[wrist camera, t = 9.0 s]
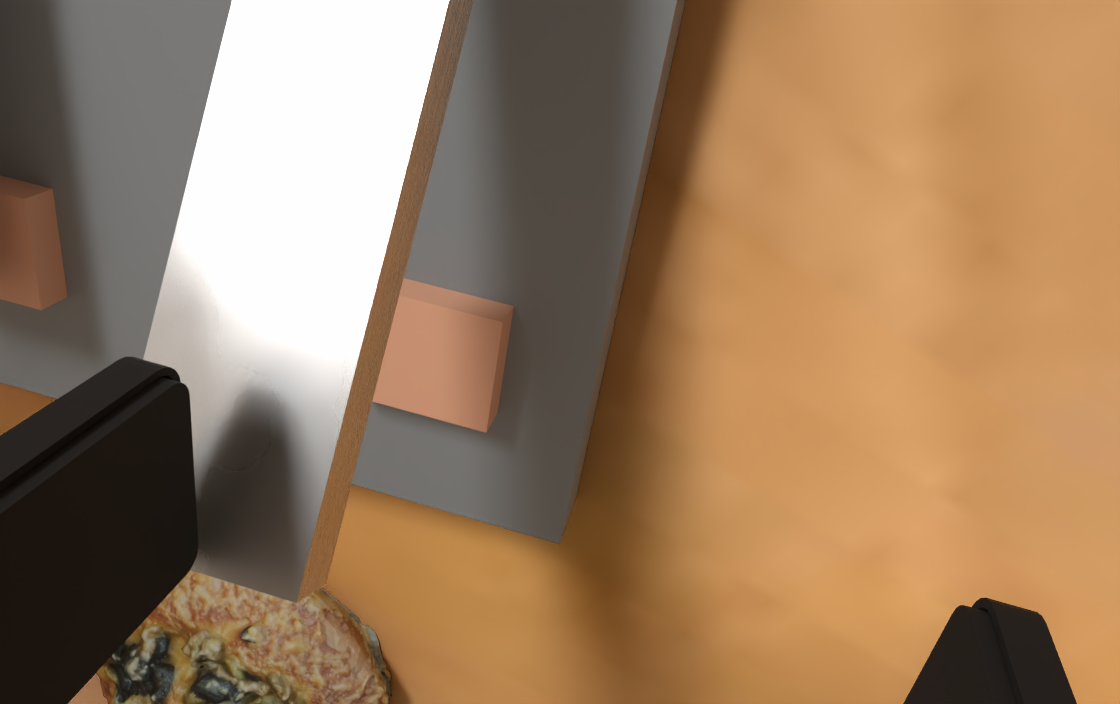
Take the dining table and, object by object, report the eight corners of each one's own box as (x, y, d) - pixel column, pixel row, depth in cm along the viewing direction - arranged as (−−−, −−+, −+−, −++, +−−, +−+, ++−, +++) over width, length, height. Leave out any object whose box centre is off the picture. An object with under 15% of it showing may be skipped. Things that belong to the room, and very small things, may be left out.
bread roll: (194, 756, 34) (105, 863, 30) (93, 515, 31) (-24, 592, 27) (441, 751, 31) (384, 870, 26) (353, 482, 28) (272, 563, 24)
